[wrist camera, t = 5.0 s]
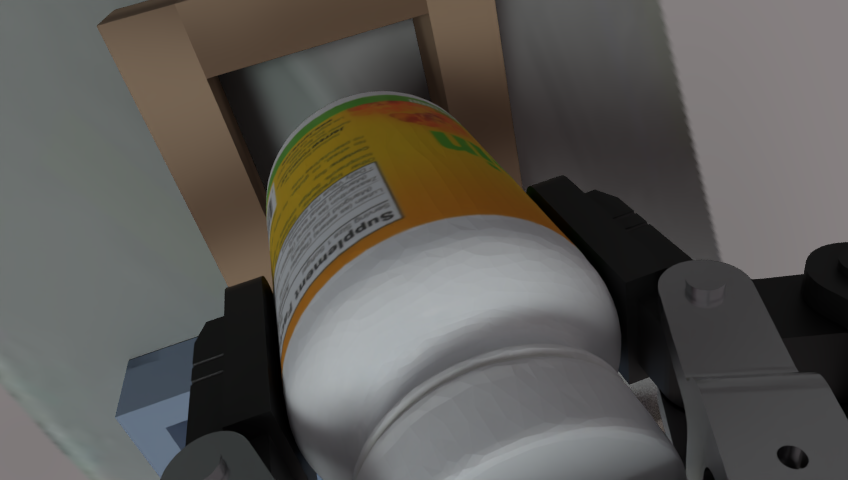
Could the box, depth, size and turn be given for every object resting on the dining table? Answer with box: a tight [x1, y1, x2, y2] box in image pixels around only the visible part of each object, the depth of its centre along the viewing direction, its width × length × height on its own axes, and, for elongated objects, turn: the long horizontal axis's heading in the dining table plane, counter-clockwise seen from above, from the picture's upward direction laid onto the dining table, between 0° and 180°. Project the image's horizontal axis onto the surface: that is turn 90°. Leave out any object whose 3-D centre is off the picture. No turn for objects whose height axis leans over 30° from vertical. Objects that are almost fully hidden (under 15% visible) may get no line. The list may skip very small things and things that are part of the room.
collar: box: [97, 0, 523, 292], centre depth 20 cm, size 10×10×2 cm
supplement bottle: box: [266, 91, 687, 480], centre depth 11 cm, size 5×5×10 cm
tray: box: [115, 337, 323, 480], centre depth 25 cm, size 11×11×3 cm
